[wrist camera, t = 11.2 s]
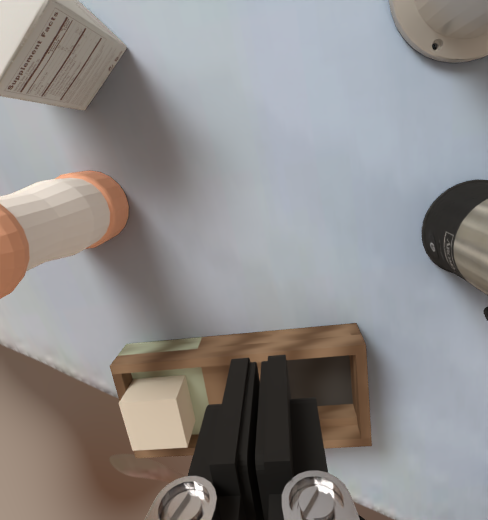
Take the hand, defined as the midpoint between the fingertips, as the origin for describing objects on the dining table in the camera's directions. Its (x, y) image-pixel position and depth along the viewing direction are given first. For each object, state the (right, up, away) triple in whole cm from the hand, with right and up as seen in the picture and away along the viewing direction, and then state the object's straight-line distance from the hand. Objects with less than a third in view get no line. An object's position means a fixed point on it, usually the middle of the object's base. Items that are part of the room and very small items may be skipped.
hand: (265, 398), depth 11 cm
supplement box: (-16, +23, +23) cm, 36 cm away
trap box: (-1, -10, +32) cm, 33 cm away
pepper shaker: (-16, +10, +27) cm, 33 cm away
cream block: (-10, -12, +30) cm, 34 cm away
